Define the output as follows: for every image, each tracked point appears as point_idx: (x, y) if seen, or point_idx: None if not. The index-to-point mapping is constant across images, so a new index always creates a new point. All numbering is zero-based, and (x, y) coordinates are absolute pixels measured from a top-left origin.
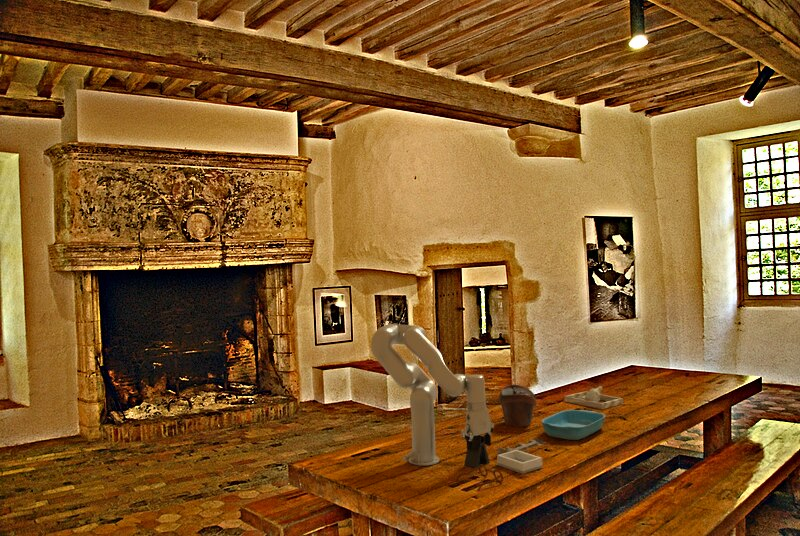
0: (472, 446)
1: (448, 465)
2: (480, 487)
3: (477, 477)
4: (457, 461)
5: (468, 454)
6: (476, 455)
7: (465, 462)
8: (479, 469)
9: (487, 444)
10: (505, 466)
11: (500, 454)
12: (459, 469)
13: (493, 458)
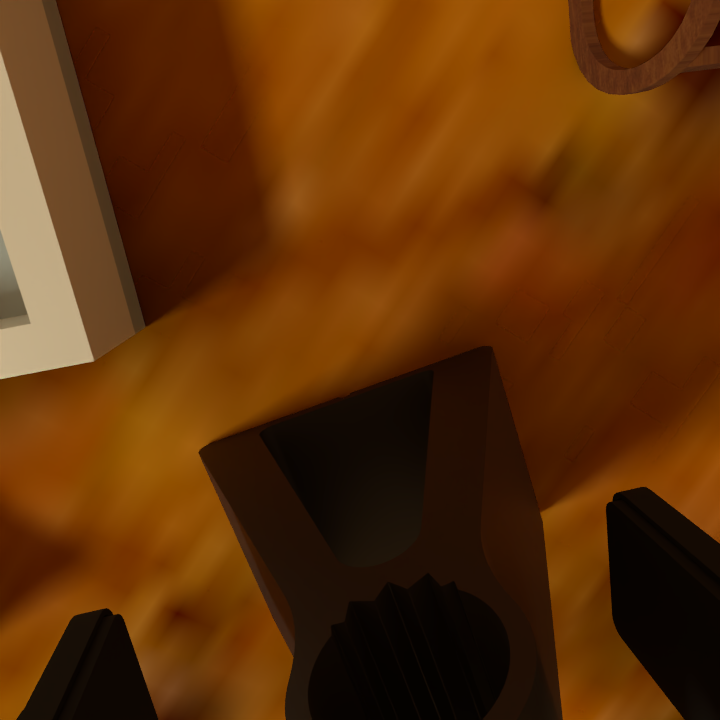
0: (694, 537)
1: None
2: None
3: None
4: None
5: (542, 584)
6: (497, 448)
7: (541, 526)
8: (645, 70)
9: (134, 675)
10: (90, 149)
11: (10, 364)
12: (675, 414)
13: (49, 586)
